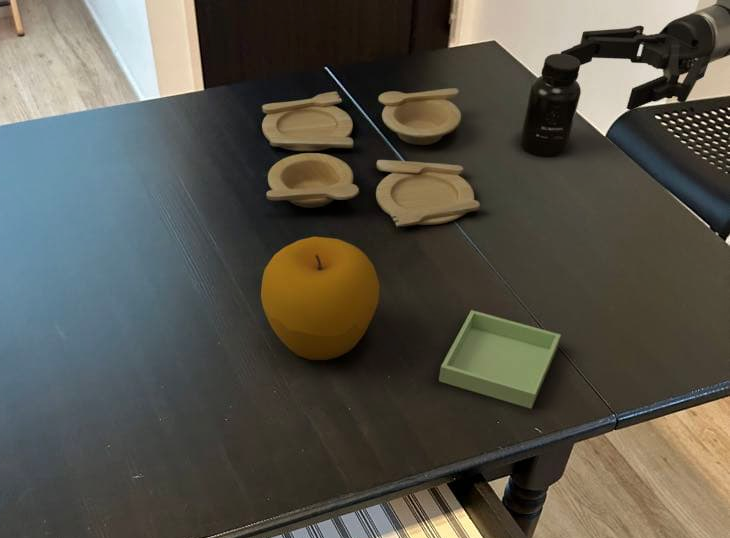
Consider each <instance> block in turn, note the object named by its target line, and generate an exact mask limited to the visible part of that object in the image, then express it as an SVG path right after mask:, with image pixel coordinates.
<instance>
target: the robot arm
mask: <svg viewBox="0 0 730 538" xmlns="http://www.w3.org/2000/svg"><path fill="white" fill-rule="evenodd" d="M644 29H645V26H643V25H636V26H635V25H634V26H631V27H627V28H613V29H612V28H611V29H597V30H585V31H583V32H582V33H581V34H582V35H581V39H580V43H578V44H576V45H573V46H572V47H570V48H567V49H565V50H561V51H560V54H567V55H571V56H573V57H575V58H577V59H578V60H579V61H580V66H584V65H585V64H588V63H590V62H591V63H592V61H593V59H613V60H630V62H631V63H632V64H647V65H648V66H651V67H653V68H654V69H656V70H662V72H663V74H662V75H661V76H659V77H656V78H654V79H652V80H649V81H646V82H645V83H642V84H640V85H637V86H635V87H632V88H631V91H630V95H629V98H628V101H627V105H626V109H627V110H629V111H633V110H635V109H638V108H640V107H642V106H645V105H646V104H650V103H652V102H653V103H654V102H655V103H656V102H659V101H661V100H663V99H673V98H676V101H677V102H679V103H685V102H687V100H688V98H689V96H690V94H691V92H692V90H693V88H694V87H695V84H696V83H697V82H698V81H699V80H701V79H703V78H704V77H705V75H706V72H707V69H708V66H709V64H712V63H713V62H715V61H718V60H720V59H723V58H726V57H729V56H730V0H716V1H715V3H714V4H712V5H710V6H707V7H705V8H701V9H699V10H696V11H693V12H691V13H689V14H687V15H684V16H681V17H678V18H675V19H673V20H671V21H670V22H668V23H667V24H666V25H665V26H664V27H663V28H662V29H661V31H660V32H658V33H654V34H645V33H644ZM640 46H642V47H641V52H640V55H638V53H639V50H640ZM685 74H686V75H685ZM682 75H685V77H684V78H683V81H682V82H680V81H679V79H680V76H682Z"/></svg>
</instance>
